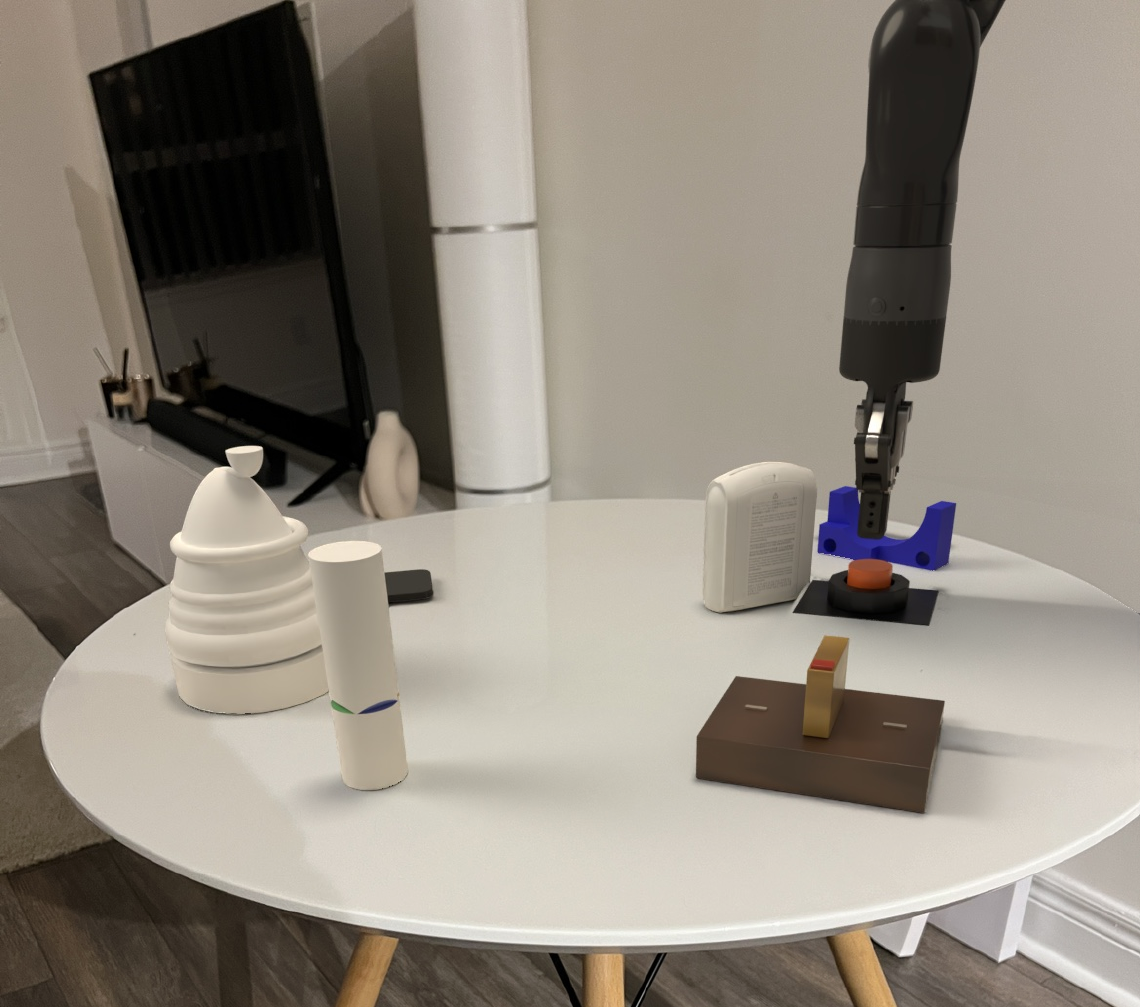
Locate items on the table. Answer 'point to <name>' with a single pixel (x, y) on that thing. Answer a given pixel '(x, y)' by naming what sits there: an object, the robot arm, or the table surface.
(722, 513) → the photo printer
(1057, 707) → the table surface
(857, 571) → the button
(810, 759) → the plate
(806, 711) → the lock knob
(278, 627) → the honey pot
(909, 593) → the button block
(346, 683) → the tube
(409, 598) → the phone
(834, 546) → the blue u-shaped cradle
